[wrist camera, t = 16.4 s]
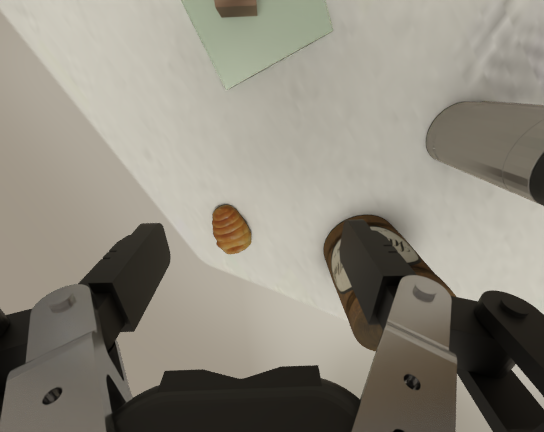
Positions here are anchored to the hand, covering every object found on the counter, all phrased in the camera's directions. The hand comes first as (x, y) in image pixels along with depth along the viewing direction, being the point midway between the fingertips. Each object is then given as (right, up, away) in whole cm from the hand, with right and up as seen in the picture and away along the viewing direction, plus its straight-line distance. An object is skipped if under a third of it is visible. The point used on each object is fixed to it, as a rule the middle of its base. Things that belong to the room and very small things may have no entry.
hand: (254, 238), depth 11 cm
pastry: (-7, -1, +35) cm, 36 cm away
